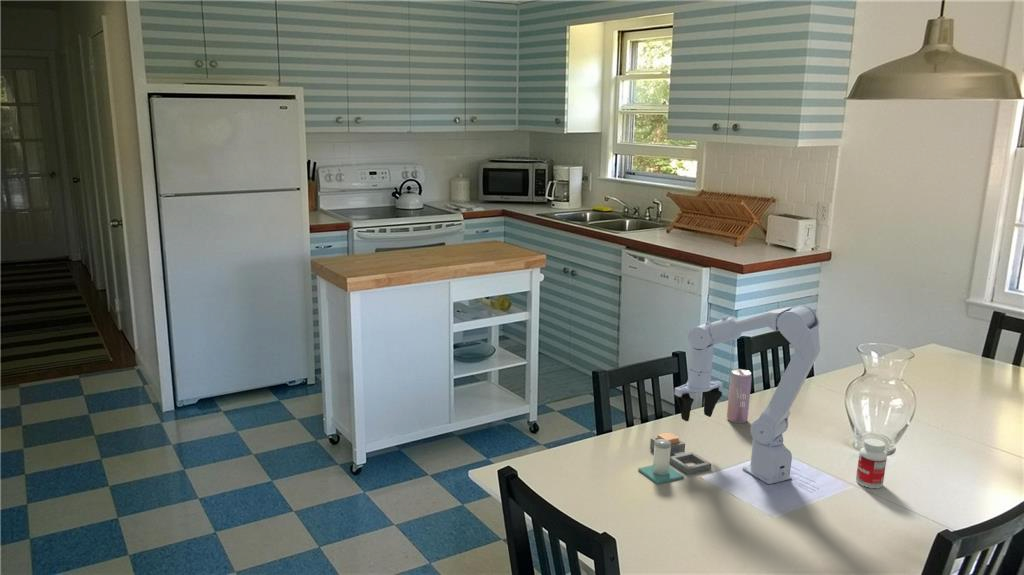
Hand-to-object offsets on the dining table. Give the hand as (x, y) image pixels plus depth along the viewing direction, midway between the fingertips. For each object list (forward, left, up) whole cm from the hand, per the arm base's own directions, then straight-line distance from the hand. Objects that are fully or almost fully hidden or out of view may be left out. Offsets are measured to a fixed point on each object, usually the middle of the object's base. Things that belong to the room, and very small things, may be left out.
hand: (696, 417), depth 206 cm
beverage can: (+12, -26, -10) cm, 30 cm away
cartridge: (-8, +17, -9) cm, 21 cm away
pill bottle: (-33, -28, -10) cm, 44 cm away
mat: (-8, +17, -9) cm, 21 cm away
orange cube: (+3, +7, -9) cm, 12 cm away
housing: (-2, +7, -9) cm, 12 cm away
